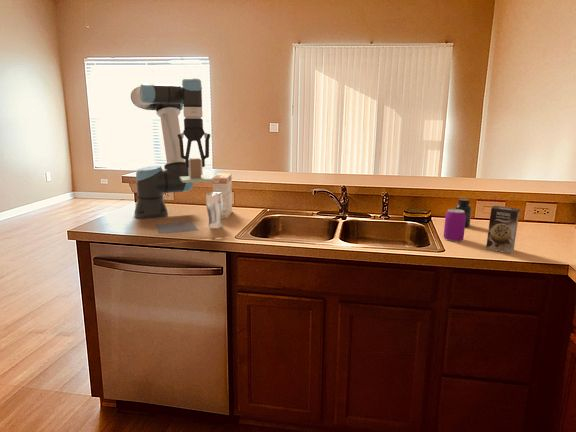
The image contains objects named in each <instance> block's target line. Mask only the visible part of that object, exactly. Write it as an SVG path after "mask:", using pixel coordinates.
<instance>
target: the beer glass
mask: <svg viewBox="0 0 576 432" xmlns="http://www.w3.org/2000/svg"><path fill="white" fill-rule="evenodd" d="M205 198H206V199H205V200H206V201H205V205H206V213H207V216H208V224H207V227H208V228H209V229H221V228H222V227H223V223H222V218H221V215H222V207H223V200H222V193H218V192H213V191H211V192H207V193H206V197H205Z"/></svg>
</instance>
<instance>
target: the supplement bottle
mask: <svg viewBox="0 0 576 432" xmlns="http://www.w3.org/2000/svg"><path fill="white" fill-rule="evenodd" d="M470 201H471V200H470V199H468V198H458V201H457V204H456V206H455V208H454V209H460V210H464V211H465V216H466V221H465V228H467V227H468V228H469V227H471V226H470V225H471V218H472V206H471V205H470V204H471V202H470Z"/></svg>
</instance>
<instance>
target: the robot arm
mask: <svg viewBox="0 0 576 432" xmlns="http://www.w3.org/2000/svg"><path fill="white" fill-rule="evenodd" d="M202 89H203V86H202V81H201V79H199V78H191V77H190V78H188V77H187V78H183V79H182V83H181V84H159V83H158V84H154V83H153V84H152V83H142V84H141V85H139V86H137V87H135V88H134V89H133V90H132V91H131V92H130V100H131V102H132V104H133V105H134V106H135V107H137V108H138V109H142V110H147V111H155V113H156V115H157V116H158V117H159V118H160V124H161V131H162V137H163V145H164V151H165V157H166V158H165V159H166V163H165V164H164V167H163V168H162V165H161V166H160V165H150V166H145V167H141V168H139V169H137V171H136V173H135V175H136V177H135V181H136V193H137V195H136V196H137V202H136V206H135V210H134V217H135V218H137V219H142V220H143V219H157V218H164V217H167V216H168V215H169V212H168V208H167V205H166V203H165V200H164V194H169V193H172V194H173V193H183V192H189V191H191V190H192V189H193V186H194V182H186V183H183V182H182V181H181V180H180V177H181V176H191V162H190V159H189V158H190V154H191V153H190V152H191V147H192V142H196V143H197V148H198V152H199V154H200V162H201V176H204V173H203V168H205V167H206V164H205V163H206V161H205V160H206V159H208V158H210V138H211V134H210V133H208V132H205V131H204V121H203V97H202V96H203V91H202ZM182 110H183V117H184V118H183V126H184V129H183V131H182V132H181V128H180V127H181V126H180V121H179V115H180V114H181V111H182ZM184 136H185V137H186V139H187V143H186V149H184V140H183V139H184ZM203 136H204V139H205V140H204V142H205V143H204V145H205V146H204V150H205V151H204V150H203V145H202V138H203ZM184 151H185V152H184Z"/></svg>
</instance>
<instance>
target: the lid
mask: <svg viewBox="0 0 576 432" xmlns="http://www.w3.org/2000/svg"><path fill="white" fill-rule="evenodd" d="M189 159H190V162H191V176H181V177H180V180H181V181H182V182H183V183H186V182H193V183H204V182H206V183H207V182H212V178H213V177H210V176H209V175H201V162H200V159H201V157H195V158H194V157H192V158H191V157H189Z"/></svg>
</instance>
